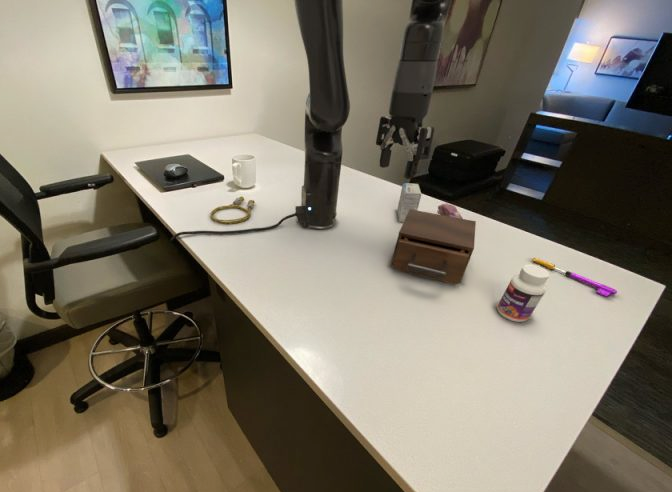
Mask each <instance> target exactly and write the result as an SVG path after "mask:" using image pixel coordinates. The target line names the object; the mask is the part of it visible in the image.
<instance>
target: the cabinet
mask: <svg viewBox="0 0 672 492" xmlns="http://www.w3.org/2000/svg"><path fill="white" fill-rule="evenodd" d="M476 223H477V221H476V220H472V219H465V218H463V219H460V218H455V217H450V216H444V215H440V214H438V213H432V212H428V211H422V210H418V211H417V210H412V209H410V210H409V212H408V214H407V216H406V218H405V220H404V222H402V225H401V227H400V229H399V231H398V235H397V238H396V241H395V247H394V251H393V256H392V260H391V264H390V267H393V263H394V259H395V255H396V251H397V247H398V243H399V240H400V239H402V240H404V237H407V238H412V239H417V240H421V241H426V242H431V243H435V244H440V245H445V246H449V247H454V248H459V249H463V250H465V253H467V254H469V257H468V260H467V262H466V265H465V267H464V270H463V272H462V275H461V277H460V280H459V282H458V284H461V282H462V280H463V277H464V274H465V272H466V269H467V267H468V265H469V263H470V260H471V257H472V255H473V253H474V250H475V242H476V241H475V240H476V239H475V238H476V226H477V225H476Z"/></svg>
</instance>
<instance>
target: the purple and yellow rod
mask: <svg viewBox="0 0 672 492" xmlns="http://www.w3.org/2000/svg"><path fill="white" fill-rule="evenodd" d="M531 261H534V262H535V263H536V264H538V265H541V266H543V267H546V268H548V269H549V270H553V269H556V270H557V271H560V272H562V273H564V274H565V275H566V276H568V277H570V278H571V279H574V280H577V281H579V282H581V283H584V284H586V285H589V286H591V287H594V288H596V289H597V290H596V292H595V293H596V294H598V295H599V296H602V297H604V298H608V297H609V296H611V295H612V296H613V295H616V294H617V293H618V290H617V289H615V288H613V287H611V286H608V285H606V284H603V283H600V282H598V281H595V280H592V279H589V278H587V277H585V276H582V275H580V274H577V273H575V272H571V271H569V270H567V271H565V270H563V269H560V268H558V267H555V266H556V265H555V264H554V263H551V262H548V261H545V260H543V259H540V258H536V257H532V259H531Z"/></svg>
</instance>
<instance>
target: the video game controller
mask: <svg viewBox="0 0 672 492" xmlns="http://www.w3.org/2000/svg"><path fill="white" fill-rule="evenodd" d="M437 214H439V215H444V216H450V217H455V218H460V219H464V218H463V216H462V215H461V213H460V212H459V211H458V209H457V206H455V205H453V204H449V203H448V202H446V203H442V204H440V205H438V206H437Z"/></svg>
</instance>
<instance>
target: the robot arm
mask: <svg viewBox="0 0 672 492" xmlns="http://www.w3.org/2000/svg"><path fill="white" fill-rule="evenodd" d="M452 1H453V0H411V6H410V9H409V10H410V11H409V17H408V21H407V23H406V25H405V27H404V30H403V34H402V37H401V38H402V39H401V44H400V50H399V56H398V62H397V66H396V68H395V69H396V70H395V73H394V77H393V83H392V89H391V96H390V100H389V101H390V102H389V107H388V114H389V115H387V116H386V115H385V116H381V117H380V118H379V124H378V129H377V135H376V140H375V145H376V146H379V147H380V148H379V149H380V157H379V158H380V159H379V167H380V168H382V169H383V168H388V167H389V166H390V162H391V157H392V149H393V147H394V146H395V144H399V146H403V150H404V152H406V154H407V158H408V160H407V161H406V167H405V171H404V174H403V175H404V176H403V178H404V179H406V180H411V179H414V178H415V177H416V175H417V171H418V167H419V163H420V161H422V160H423V161H424V160H428V159H429V157H430V154H431V148H432V144H433V139H434V134H435V127H434V126H424V125H423V121H424V118H425V117H426V116H427V115H428V112H429V108H430V103H431V99H432V95H433V90H434V87H435V81H436V77H437V69H438V63H439V61H438V60H439V57H440V54H441V49H442V44H443V40H444V34H445V33H444V32H445V26H446V21H447V18H448V15H449V11H450V8H451V4H452ZM293 2H294V8H295V15H296V20H297V25H298V28H299V32H300V37H301V41H302V44H303V47H304V51H305V56H306V61H307V67H308V68H307V70H308V84H309V93H308V95H307V97H306V101H305V107H304V139H303V140H304V142H303V143H304V169H303V170H304V171H303V172H304V173H303V185H302V186H301V198H300V199H301V201H300V205H296V206H295V212H294V213H292V214H289V215H286V216H284V217H283V218H281V219H280V220H279V221H278V222H277V223H275V224H273V225H271V226H270V225H269V226H265V227H254V228H246V229H239V230H238V229H237V230H190V231H189V230H188V231H180V232H177V233H175V234H174V235H173V236H171V238H170V242H172V241H175V240H176V239H177V238H178V237H180V236H183V235H198V234H199V235H202V234H207V235H209V234H210V235H230V234H241V233H243V234H244V233H251V232H259V231H269V230H273V229H275V228H277V227H279V226H281V224H282V223H284V221H286V220H288V219H291V218H294V217H295V218H296V220H297V222H298V223H302V225H303V227H304V229H305V228H310V229H315V230H326V229H330V228H332V227H334V226H335V225H336V221H337V219H336V218H337V216H338V212H337V210H338V209H337V207H338V197H339V189H340V180H341V171H342V162H343V150H344V149H343V142H342V134H343V133H342V132H343V127H344V125H345V124H346V123H347V120H348V119H349V115H350V111H351V100H350V96H349V95H350V94H349V89H348V82H347V76H346V75H347V74H346V68H345V58H344V0H293Z"/></svg>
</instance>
